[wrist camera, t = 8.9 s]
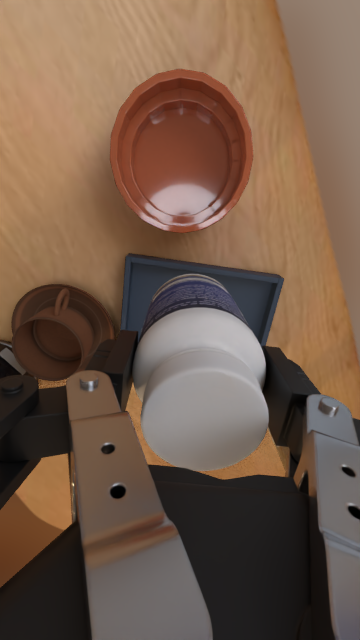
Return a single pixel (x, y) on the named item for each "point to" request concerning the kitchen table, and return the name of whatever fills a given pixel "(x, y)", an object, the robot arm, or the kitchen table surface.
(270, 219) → the kitchen table surface
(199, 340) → the pill bottle
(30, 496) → the kitchen table surface
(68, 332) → the cup and saucer
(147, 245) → the kitchen table surface
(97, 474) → the robot arm
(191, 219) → the bowl
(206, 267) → the tray
